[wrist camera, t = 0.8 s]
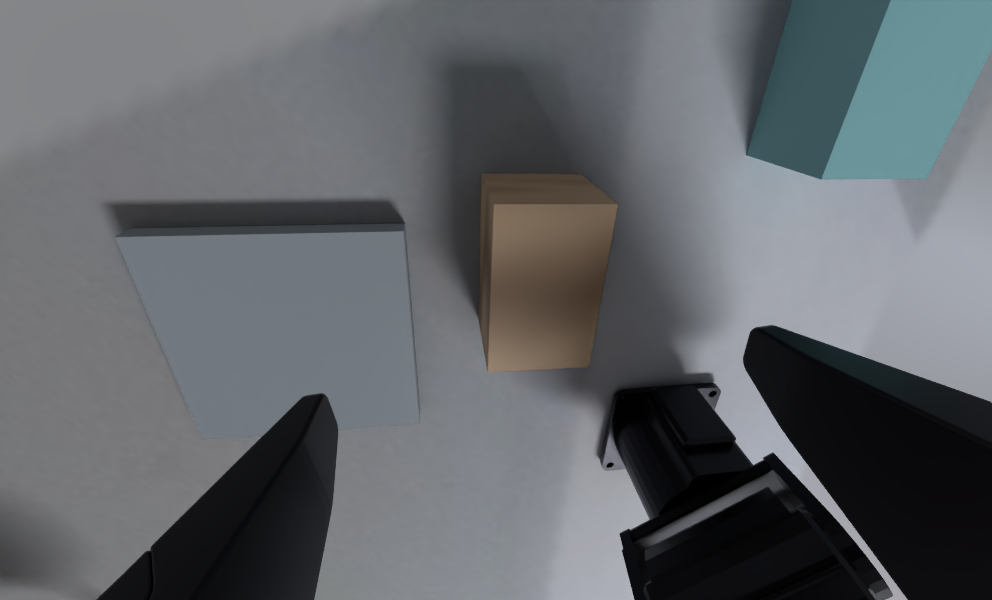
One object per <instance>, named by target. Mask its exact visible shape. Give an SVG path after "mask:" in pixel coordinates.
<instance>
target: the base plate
mask: <svg viewBox="0 0 992 600" xmlns="http://www.w3.org/2000/svg"><path fill="white" fill-rule="evenodd" d="M115 239H116V242H117V244H118V246H119V249H120V251H121V253H122V256H123V258H124V260H125V263H126V265H127V267H128V270H129V272H130V274H131V277H132V279H133V281H134V283H135V286H136V288H137V290H138V293H139V295H140V297H141V300H142V302H143V304H144V307H145V309H146V311H147V314H148V316H149V318H150V321H151V323H152V325H153V328H154V330H155V332H156V335H157V337H158V339H159V342H160V344H161V346H162V349H163V351H164V353H165V356H166V358H167V360H168V363H169V365H170V367H171V370H172V372H173V374H174V377H175V379H176V381H177V384H178V386H179V388H180V391H181V393H182V395H183V397H184V400H185V402H186V404H187V407H188V409H189V411H190V414H191V416H192V418H193V421H194V423H195V425H196V428H197V430H198V432H199V435H200V437H201V439H202V440H206V439H219V438H233V437H246V436H260V435H264V434H265V433H266V432H267V431H268V430H269V429H270V428H271V427H272V426H273V425H274V424H275V423H276V422H277V421H278V420H279V419H280V418H281V417H282V416H283V415H284V414H285V413H286V412H287V411H288V410H289V409H290V408H291V407H292V406H294V405H295V404H296V403H297V402H298V401H299V400H300V399H301V398H302V397H303V396H306V395H312V394H318V393H323V394H325V395H326V396H327V397H328V399H329V402H330V405H331V407H332V410H333V413H334V415H335V418H336V421H337V424H338V430H341V429H354V428H368V427H381V426H395V425H408V424H420V404H419V391H418V379H417V367H416V354H415V342H414V329H413V317H412V305H411V292H410V280H409V267H408V255H407V243H406V230H405V223H393V224H337V225H282V226H227V227H171V228H130V229H128V230H126V231H124V232H123V233H121V234H119V235H118V236H116V237H115Z"/></svg>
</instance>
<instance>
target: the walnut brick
mask: <svg viewBox="0 0 992 600" xmlns="http://www.w3.org/2000/svg"><path fill="white" fill-rule="evenodd" d="M617 209H618V204H617V203H616V202H615V201H614V200H612V199H611V198H610V197H609V196H608V195H606V194H605V193H604V192H603V191H601V190H600V189H599V188H598V187H597V186H595V185H594V184H593V183H592V182H591V181H589V180H588V179H587V178H586V177H584V176H583V175H582V174H508V173H481V218H480V265H479V312H478V318H479V324H480V330H481V336H482V342H483V348H484V353H485V359H486V365H487V371H488V372H504V371H524V370H544V369H564V368H584V367H589V364H590V358H591V353H592V347H593V342H594V336H595V331H596V325H597V319H598V314H599V308H600V303H601V297H602V292H603V286H604V281H605V275H606V270H607V264H608V258H609V253H610V247H611V242H612V236H613V231H614V225H615V220H616V214H617Z"/></svg>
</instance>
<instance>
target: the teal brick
mask: <svg viewBox="0 0 992 600" xmlns="http://www.w3.org/2000/svg"><path fill="white" fill-rule="evenodd" d="M991 50H992V0H792V3H791V6H790V9H789V13H788V16H787V19H786V23H785V26H784V30H783V33H782V36H781V40H780V43H779V46H778V50H777V53H776V57H775V60H774V63H773V67H772V70H771V73H770V77H769V80H768V84H767V87H766V90H765V94H764V97H763V100H762V104H761V107H760V111H759V114H758V117H757V121H756V124H755V128H754V131H753V134H752V138H751V141H750V144H749V148H748V151H747V156H750V157H754V158H757V159H760V160H763V161H766V162H769V163H772V164H775V165H778V166H781V167H784V168H788V169H791V170H794V171H797V172H800V173H803V174H806V175H809V176H812V177H815V178H819V179H921V178H927V177H928V175H929V173H930V171H931V169H932V167H933V165H934V163H935V161H936V159H937V157H938V155H939V153H940V151H941V149H942V147H943V145H944V143H945V141H946V139H947V137H948V135H949V133H950V131H951V129H952V127H953V125H954V123H955V121H956V119H957V118H958V116H959V114H960V112H961V110H962V108H963V106H964V104H965V102H966V100H967V98H968V96H969V94H970V92H971V90H972V88H973V86H974V84H975V82H976V80H977V78H978V76H979V74H980V72H981V70H982V68H983V66H984V64H985V62H986V60H987V58H988V56H989V54H990V52H991Z"/></svg>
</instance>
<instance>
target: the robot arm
mask: <svg viewBox="0 0 992 600" xmlns="http://www.w3.org/2000/svg"><path fill="white" fill-rule="evenodd" d="M743 363H744V367H745V369H746V371H747V373H748V374H749V376H750V378H751V379H752V381H753V383H754V384H755V386H756V388H757V389H758V391H759V393H760V394H761V396H762V398H763V399H764V401H765V403H766V404H767V406H768V408H769V409H770V411H771V413H772V414H773V416H774V418H775V419H776V421H777V423H778V424H779V426H780V427H781V429H782V430H783V432H784V433H785V435H786V436H787V437H788V439H789V440H790V441H791V443H792V444H793V446H794V447H795V448H796V450H797V451H798V452H799V454H800V455H801V456H802V458H803V459H804V460H805V462H806V463H807V464H808V466H809V467H810V468H811V470H812V471H813V472H814V474H815V475H816V477H817V478H818V479H819V481H820V482H821V483H822V485H823V486H824V487H825V489H826V490H827V491H828V493H829V494H830V495H831V497H832V498H833V499H834V501H835V502H836V503H837V505H838V506H839V507H840V509H841V510H842V511H843V513H844V514H845V516H846V517H847V518H848V520H849V521H850V522H851V523H852V525H853V526H854V528H855V529H856V530H857V532H858V533H859V535H860V536H861V537H862V539H863V540H864V541H865V542H866V544H867V545H868V547H869V548H870V549H871V551H872V552H873V553H874V555H875V556H876V557H877V559H878V560H879V561H880V563H881V564H882V566H883V567H884V568H885V570H886V571H887V572H888V573H889V575H890V576H891V578H892V579H893V580H894V582H895V583H896V584H897V586H898V587H899V588H900V590H901V591H902V592H903V594H904V595H905V596H906V598H907V599H908V600H992V403H991V402H990V401H987V400H984V399H981V398H979V397H976V396H973V395H970V394H967V393H964V392H961V391H959V390H956V389H953V388H950V387H947V386H945V385H942V384H939V383H936V382H933V381H930V380H927V379H925V378H921V377H919V376H916V375H913V374H910V373H907V372H905V371H902V370H899V369H896V368H893V367H891V366H888V365H885V364H882V363H879V362H876V361H874V360H871V359H868V358H865V357H862V356H859V355H857V354H854V353H851V352H848V351H845V350H842V349H840V348H837V347H834V346H831V345H828V344H825V343H823V342H820V341H817V340H814V339H811V338H808V337H806V336H803V335H800V334H797V333H794V332H791V331H789V330H786V329H783V328H780V327H777V326H773V325H769V326H762V327H756V328H754V329H752V331H751V332H750V334H749V338H748V342H747V345H746V349H745V353H744V357H743ZM720 393H721V391H720V389H719V388H718V386H717V385H716V384H714V383H705V384H690V385H676V386H661V387H646V388H632V389H621V390H619V391H617V392H616V393H615V395H614V397H613V402H612V407H611V412H610V417H609V422H608V426H607V431H606V436H605V441H604V446H603V450H602V455H601V460H600V463H601V465H602V468H603V469H604V470H619V469H626V470H627V472H628V474H629V476H630V478H631V480H632V483H633V485H634V487H635V489H636V491H637V493H638V495H639V498H640V500H641V502H642V504H643V506H644V508H645V510H646V513H647V515H648V517H649V519H650V520H649V521H647V522H645V523H643V524H641V525H639V526H637V527H635V528H633V529H631V530H630V529H627V530H625V531H623V532H622V533H620V537H621V541H622V545H623V550H622V552H623V556H624V560H625V564H626V568H627V572H628V576H629V580H630V584H631V587H632V591H633V595H634V599H635V600H885V599H888V598H890V597H892V596H893V594H892V592H891V591H890V589H889V587H888V585H887V584H886V582H885V581H884V579H883V578H882V577H881V575H880V574H879V572H878V571H877V570H876V568H875V567H874V566H873V564H872V563H871V562H870V560H869V559H868V558H867V556H866V555H865V554H864V553H863V551H862V550H861V549H860V548H859V546H858V545H857V544H856V543H855V541H854V540H853V539H852V538H851V537H850V535H849V534H848V533H847V532H846V531H845V529H844V528H843V527H842V526H841V525H840V524H839V522H838V521H837V520H836V519H835V518H834V517H833V516H832V515H831V514H830V512H829V511H828V510H827V509H826V508H825V507H824V506H823V505H822V504H821V503H820V502H819V501H818V500H817V499H816V498H815V496H814V495H813V494H812V493H811V492H810V491H809V490H808V489H807V488H806V487H805V486H804V485H803V484H802V483H801V482H800V481H799V479H798V478H797V477H796V476H795V475H794V474H793V473H792V472H791V471H790V470H789V469H788V468H787V467H786V466H785V465H784V464H783V462H782V461H781V460H780V459H779V458H778V457H777V456H776V455H775V454H774V453H771V454H769V455H767V456H765V457H764V458H763V459H764V460H762V461H761V462H759V463H757V464H755V465H753V464H752V463H751V462H750V460H749V459H748V458H747V457H746V455H745V454H744V453H743V451H742V450H741V449H740V448H739V446H738V445H737V444H736V442H735V440H736V438H735V436H734V435H733V433H732V432H731V431H730V430H729V428H728V427H727V426H726V424H725V423H724V422H723V421H722V419H721V418H720V417H719V416H718V414H717V413H716V412H715V411H714V410H715V407H716V404H717V401H718V399H719V396H720ZM623 397H625V398H623ZM622 398H623V399H622ZM337 443H338V424H337V421H336V418H335V415H334V413H333V410H332V407H331V405H330V402H329V399H328V397H327V396H326V395H325V394H323V393H318V394H312V395H306V396H303V397H302V398H301V399H300V400H299V401H298V402H297V403H296V404H295V405H294V406H292V407H291V408H290V409H289V410H288V411H287V412H286V413H285V414H284V415H283V416H282V417H281V418H280V419H279V420H278V421H277V422H276V423H275V424H274V425H273V426H272V427H271V428H270V429H269V430H268V431H267V432H266V433H265V434H264V435H263V436H262V437H261V438H260V439H259V440H258V441H257V442H256V443H255V444H254V445H253V446H252V447H251V448H250V449H249V450H248V451H247V452H246V453H245V454H244V455H243V456H242V457H241V458H240V459H239V460H238V461H237V462H236V463H235V464H234V465H233V466H232V467H231V468H230V469H229V470H228V471H227V472H226V473H225V474H224V475H223V476H222V477H221V478H220V479H219V480H218V481H217V482H216V483H215V484H214V485H213V486H212V487H211V488H210V489H209V490H208V491H207V492H206V493H205V494H204V495H203V496H202V497H201V498H200V499H199V500H198V501H197V502H196V503H195V504H194V505H193V506H192V507H191V508H190V509H189V510H187V511H186V512H185V513H184V514H183V515H182V516H181V517H180V518H179V519H178V520H177V521H176V522H175V523H174V524H173V525H172V526H171V527H170V528H169V529H168V530H167V531H166V532H165V533H164V534H163V535H162V536H161V537H160V538H159V539H158V540H157V541H156V542H155V543H154V544H153V545H152V546H151V551H146V552H145V553H144V554H143V555H142V556H141V557H140V558H139V559H138V560H137V561H136V562H135V563H134V564H133V565H132V566H131V567H130V568H129V569H128V570H127V571H126V572H125V573H124V574H123V575H122V576H121V577H119V578H118V579H117V580H116V581H115V582H114V583H113V584H112V585H111V586H110V587H109V588H108V589H107V590H106V591H105V592H104V593H103V594H102V595H101V596H100V597H99V598H98V599H97V600H314V598H315V593H316V588H317V583H318V577H319V572H320V567H321V562H322V557H323V552H324V547H325V542H326V537H327V532H328V527H329V521H330V516H331V510H332V503H333V494H334V481H335V468H336V455H337Z"/></svg>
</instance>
